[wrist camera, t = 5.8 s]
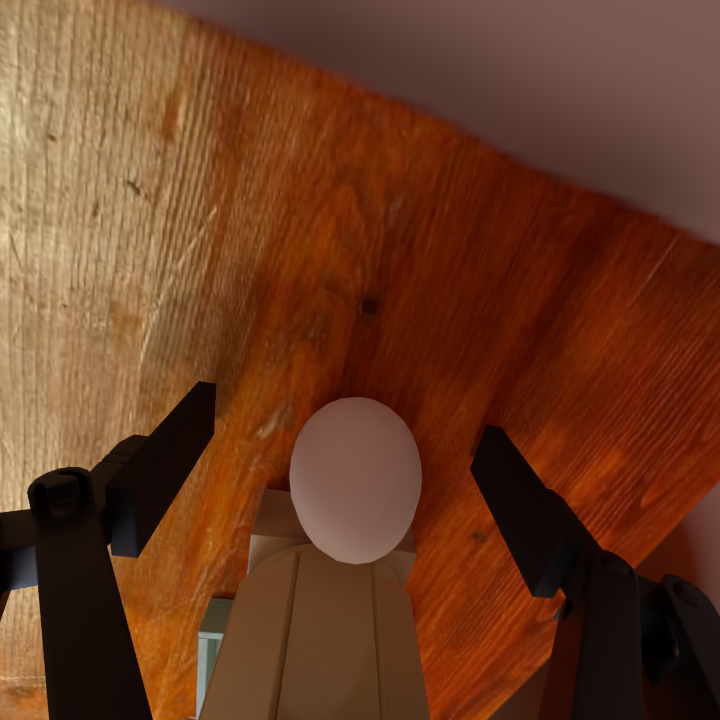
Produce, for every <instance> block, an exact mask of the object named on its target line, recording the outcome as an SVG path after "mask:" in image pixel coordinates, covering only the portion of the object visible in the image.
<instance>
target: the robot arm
mask: <svg viewBox="0 0 720 720" xmlns="http://www.w3.org/2000/svg"><path fill="white" fill-rule="evenodd" d="M215 400H216V384H214V383H208V382H201V381H199V382H198V383H197V384H196V385H195V386H194V387H193V388H192V389H191V391H190V392H189V393H188V394H187V395H186V396H185V397H184V398H183V399H182V400H181V402H180V403H179V404H178V405H177V406H176V407H175V408H174V409H173V410H172V411H171V413H170V414H169V415H168V416H167V417H166V418H165V419H164V420H163V421H162V423H161V424H160V425H159V426H158V427H157V428H156V429H155V430H154V431H153V432H152V434H151V435H150V436H142V435H132V436H130V437H128V438H126V439H125V440H123V441H121V442H119V443H118V444H117V445H116V446H115V447H114V448H113V449H112V450H111V451H110V453H109V454H107V455H106V456H105V457H104V458H103V459H102V461H101V462H99V463H98V464H97V465H96V466H95V467H94V468H93V469H92V470H91V471H90V472H89V471H88V470H86V469H83V468H81V467H66V468H60V469H56V470H53V471H50V472H48V473H45V474H44V475H42V476H40V477H38V478H37V479H36V480H35V481H34V482H33V483H32V484H31V485H30V486H29V488H28V492H27V494H28V499H29V504H30V508H31V509H27V510H18V511H10V512H2V513H0V621H1V618H2V615H3V612H4V609H5V606H6V603H7V600H8V597H9V594H10V592H11V590H15V589H20V588H26V587H31V586H36V585H38V592H39V604H40V616H41V628H42V640H43V652H44V664H45V676H46V688H47V699H48V711H49V720H153V718H152V714H151V711H150V707H149V703H148V699H147V695H146V692H145V688H144V684H143V680H142V677H141V673H140V669H139V665H138V661H137V658H136V654H135V650H134V646H133V642H132V639H131V635H130V631H129V627H128V624H127V620H126V616H125V612H124V608H123V605H122V601H121V597H120V593H119V590H118V586H117V582H116V578H115V574H114V571H113V567H112V563H111V559H110V555H109V552H108V548H107V546H108V545H109V543H110V544H111V553H112V555H113V556H123V557H134V558H138V557H139V555H140V554H141V552H142V550H143V549H144V547H145V546H146V544H147V542H148V541H149V539H150V537H151V536H152V534H153V533H154V531H155V529H156V528H157V526H158V524H159V523H160V521H161V520H162V518H163V516H164V515H165V513H166V511H167V510H168V508H169V506H170V505H171V503H172V502H173V500H174V498H175V497H176V495H177V493H178V492H179V490H180V489H181V487H182V485H183V484H184V482H185V480H186V479H187V477H188V476H189V474H190V472H191V471H192V469H193V467H194V466H195V464H196V463H197V461H198V459H199V458H200V456H201V454H202V453H203V451H204V449H205V448H206V446H207V445H208V443H209V441H210V440H211V438H212V436H213V435H214V423H215ZM470 471H471V473H472V475H473V477H474V479H475V481H476V483H477V485H478V487H479V489H480V491H481V493H482V495H483V497H484V499H485V501H486V503H487V505H488V507H489V509H490V511H491V513H492V515H493V518H494V520H495V522H496V524H497V526H498V528H499V530H500V532H501V534H502V536H503V538H504V540H505V542H506V544H507V546H508V548H509V550H510V552H511V554H512V556H513V558H514V560H515V562H516V564H517V566H518V568H519V570H520V572H521V574H522V576H523V579H524V581H525V583H526V585H527V587H528V589H529V591H530V593H531V595H532V597H542V598H552V599H553V597H554V595H555V594H556V592H557V590H558V589H559V587H561V589H562V591H563V593H564V594H565V596H566V599H565V600H564V602H563V603H562V605H561V607H560V608H559V610H558V611H557V613H556V615H555V616H554V618H553V619H554V620H556V621H557V620H558V618H559V620H558V625H557V630H556V635H555V639H554V644H553V649H552V653H551V658H550V663H549V668H548V672H547V677H546V682H545V687H544V692H543V696H542V701H541V705H540V710H539V715H538V720H643V700H644V703H645V707H646V710H647V714H648V718H649V720H720V616H719V614H718V612H717V611H716V609H715V607H714V605H713V604H712V602H711V601H710V600H709V598H708V597H707V596H706V595H705V594H704V593H703V592H701V590H700V589H698V588H697V587H696V586H694V585H693V584H692V583H690V582H689V581H686V580H685V579H682V578H681V577H678V576H675V575H672V574H666V575H665V576H664V577H663V578H662V579H661V580H660V582H659V583H657V582H654V581H652V580H649V579H646V578H644V577H641V576H638V575H637V574H636V572H635V571H634V569H633V568H632V567H631V566H630V565H629V564H628V563H627V562H626V561H625V560H623V559H622V558H620V557H619V556H617V555H616V554H614V553H612V552H609V551H607V550H602V548H601V547H600V546H599V544H598V543H597V542H596V541H595V539H594V538H593V537H592V535H591V534H590V533H589V531H588V530H587V529H586V528H585V526H584V525H583V524H582V522H581V521H580V520H578V517H577V516H576V515H575V513H574V512H572V509H571V508H570V507H569V506H568V504H567V503H566V502H565V500H564V499H563V498H562V497H560V496H559V495H558V494H557V493H556V492H554V491H553V490H552V489H547V488H546V487H545V486H544V484H543V483H542V482H541V480H540V479H539V478H538V476H537V475H536V474H535V472H534V471H533V469H532V468H531V467H530V465H529V464H528V463H527V461H526V460H525V459H524V457H523V456H522V455H521V453H520V452H519V451H518V449H517V448H516V447H515V445H514V444H513V442H512V441H511V440H510V438H509V437H508V436H507V434H506V433H505V432H504V430H503V429H502V428H501V427H497V426H491V425H486V428H485V430H484V433H483V436H482V438H481V441H480V443H479V446H478V449H477V451H476V454H475V456H474V459H473V462H472V464H471V467H470Z"/></svg>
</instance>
